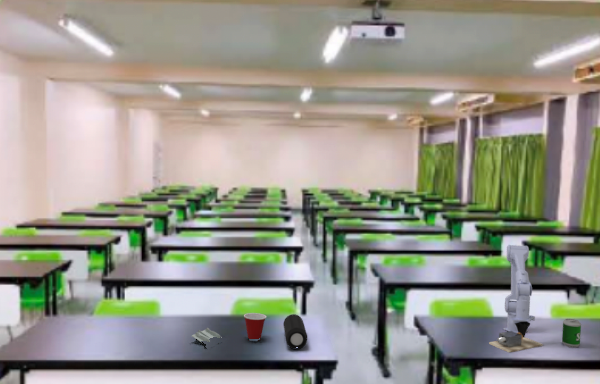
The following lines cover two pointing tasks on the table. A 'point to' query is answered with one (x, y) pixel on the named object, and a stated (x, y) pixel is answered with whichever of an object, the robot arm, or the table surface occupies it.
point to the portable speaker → (295, 331)
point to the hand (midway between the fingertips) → (521, 336)
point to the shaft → (505, 338)
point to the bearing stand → (514, 342)
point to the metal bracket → (205, 335)
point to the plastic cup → (254, 324)
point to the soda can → (571, 333)
